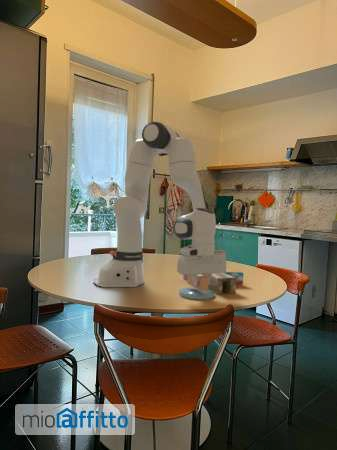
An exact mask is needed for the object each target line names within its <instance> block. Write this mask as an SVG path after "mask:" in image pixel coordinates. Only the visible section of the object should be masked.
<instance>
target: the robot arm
mask: <svg viewBox="0 0 337 450" xmlns="http://www.w3.org/2000/svg"><path fill="white" fill-rule="evenodd" d="M194 151H195V150H194V146H193V143H192V141H191V140H190V139H189V138H187V137H184V136H183V137H180V135H179V134H178V132H176V131H175V130H174V129H172V128H171V127H169V126H168V125H165V124H163V123H162V122H161V121H160V122H159V121H150V122H148V123H146V124H145V126H144V127H143V129H142V131H141V139H140V138H139V139H137V140H135V141H134V142H133V145H132V147H131V150H130V152H129V156H128V160H127V165H126V171H125V175H124V195H121V196H119V197H118V198H117V199H115V200H114V203H113V206H112V208H113V209H112V210H113V214H114V215H115V223H116V229H117V246H116V247H117V248H116V250H115V251H114V250H110V256H112V259H111V260H110V261H108V262H107V263H106V264H104V265H102V266H101V268H100V270H99V274H98V277H95V278H93V281H94V283H95V284H96V285H98V286H97V287H99V286H101V287H100V288H136V287H138V286H140V285H143V284H144V283H145V280H144V279H145V278H144V273H143V261H144V254H143V253H144V251H143V239H144V238H143V231H142V223H141V219H142V218H143V217H144V216H145V215H146V214H147V212H148V202H149V201H148V200H149V189H150V182H151V176H152V172H153V167H154V162H155V159H156V157H157V156H159V157H164V156H167V158H168V167H169V168H168V169H169V171H168V172H169V176H170V179H171V181H172V182H173V183H174V185H176V186H177V187H179V188H180V189H182V190H183V191H185V193H187V194H188V195H189V197H190V201H191V207H192V210H193V211H192V212H190V213H188V214H183V215H181V216H178V217H176V219H175V221H174V222H173V227H172V228H173V229H172V230H173V233H174V234H175V237H176V238H178V239H180V240H192V241H191V244H190V245H187V246H184V247H181V248H180V250H179V253H180V255H179V257H178V261H177V270H176V271H177V273H178V274H180V275H181V276H183V275H192V278H193V280H194V285H195V286H198V285H199V282H200V281H198V280H197V278H196V277H197V274H207V275H208V276H207V277H209V279H208V285H209V280H210V279H211V277H212V273H224V272H225V271H226V272H227V252H226V253H225V251H226V250H223V249H217V250H215V248H216V241H215V234H216V232H217V231H216V228H217V227H216V225H217V222H216V219H217V218H216V214H215V212H214V211H213V210H212V209H209V208H208V207H207V206H208V205H207V201H206V194H205V191H204V187H203V183H202V181H201V180H200V177H199V174H198V170H197V164H196V163H197V162H196V156H195V155H196V154H195V152H194ZM225 258H226V259H225ZM94 283H93V284H94ZM95 284H94V285H95ZM96 285H95V286H96Z"/></svg>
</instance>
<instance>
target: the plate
mask: <svg viewBox="0 0 337 450" xmlns="http://www.w3.org/2000/svg"><path fill="white" fill-rule="evenodd" d="M178 291H179V293H178V294H179V296H180V297H182V298H185V299H189V300H194V301H208V300H211V299H214V298H215V293H214V292H213V291H211V290H205V291H201V290H199V289H197V288H195V287H193V286H191V287H189V286H188V287H184V288H180V289H179V290H178Z"/></svg>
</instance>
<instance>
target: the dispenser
mask: <svg viewBox="0 0 337 450" xmlns="http://www.w3.org/2000/svg"><path fill="white" fill-rule="evenodd" d="M205 276H206V277H207V276H208V275H207V274H205ZM236 281H237V277H233V276H230V275H228V274H225V273H212V277H211V279H210V280H209V285H208V290H211V291H213V292H214V295H223V291H225V292H227V293H229V294H236V290H237V289H236V288H237V286H236Z"/></svg>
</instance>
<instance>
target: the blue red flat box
mask: <svg viewBox="0 0 337 450" xmlns="http://www.w3.org/2000/svg"><path fill="white" fill-rule="evenodd" d="M224 273H225V274H228V275H230V276H233V277H237V281H236V287H238V286H237V285H242V286H243V283H244V272H242V271H226V272H224Z"/></svg>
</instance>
